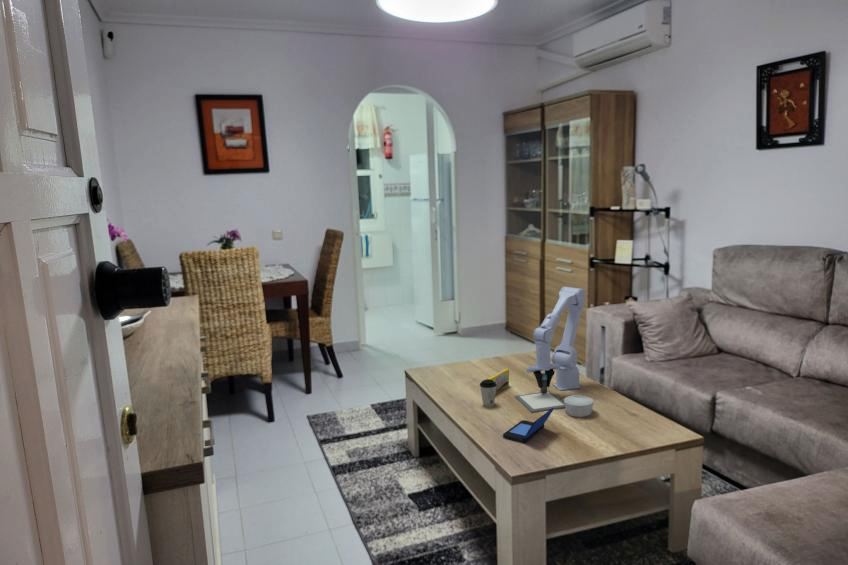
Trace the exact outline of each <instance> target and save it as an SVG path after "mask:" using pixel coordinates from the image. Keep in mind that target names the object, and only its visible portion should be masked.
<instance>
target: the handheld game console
mask: <svg viewBox="0 0 848 565" xmlns="http://www.w3.org/2000/svg"><path fill="white" fill-rule="evenodd" d="M553 411H554V410H553V408H552V409H550V410H548V411H545V413H543V415H541V416H540V417H538V418H537V419H536V420H535V421H534V422H533V421H529V420H520V421H518V423H516V424H515V425H514V426H512V427H511V428H508V430H507V431H505V432H504V433H503V434H502V438H504V439H507V440H510V441H513V442H516V443H521V444H526V443H527V442H528V441H529V440H531V439H533V436H535V435H537V434H538V433H539V432H540V431H542V430H543V429H545V424H546V422H547V421H548V419H549V417H550V416H551V415H552V413H553Z"/></svg>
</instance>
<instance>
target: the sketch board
mask: <svg viewBox="0 0 848 565" xmlns="http://www.w3.org/2000/svg"><path fill="white" fill-rule="evenodd" d="M514 398H515V399H516V400H517V401H518V402H519V403H521V404H522V405H523V406H524V407H525V408H526V409H527V410H528V411H529V412H530V413H532V414H533V413H542V412H548V411H549V410H550V409H552V408H553V411H554V410H555V411H556V410H562V409H565V404H564V400H562V399H561V398H559V397H558V396H557V395H555V394H554V393H553V392H552V391H550V390H547V393H545V394H543V393H541V391H540V392H533V393H525V394H519V395H514Z"/></svg>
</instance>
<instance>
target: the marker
mask: <svg viewBox="0 0 848 565" xmlns="http://www.w3.org/2000/svg"><path fill="white" fill-rule="evenodd" d="M541 373H542V374H543V376H542V388H539V390H540V392H541V393H543V394H545V393H547V391H548V387H547V374H546V373H545V372H541Z"/></svg>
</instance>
